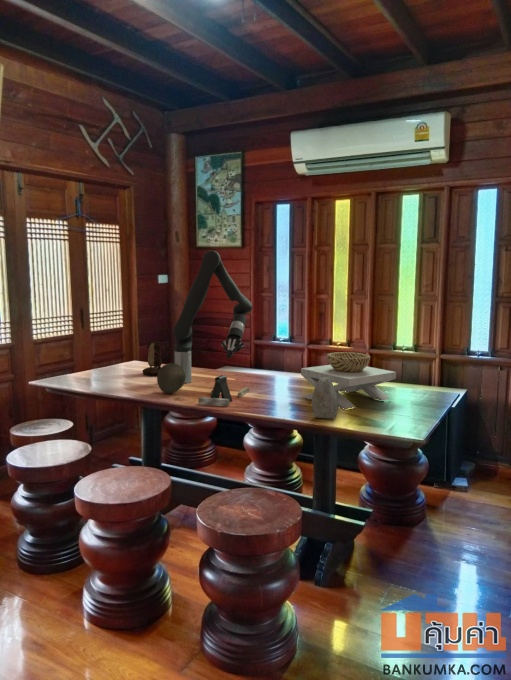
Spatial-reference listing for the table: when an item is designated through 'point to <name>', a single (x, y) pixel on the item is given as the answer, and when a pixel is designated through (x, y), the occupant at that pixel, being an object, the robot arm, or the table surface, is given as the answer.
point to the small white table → (349, 376)
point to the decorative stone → (324, 399)
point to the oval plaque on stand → (153, 358)
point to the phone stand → (221, 388)
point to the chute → (220, 401)
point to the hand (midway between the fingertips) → (228, 357)
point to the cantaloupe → (171, 378)
